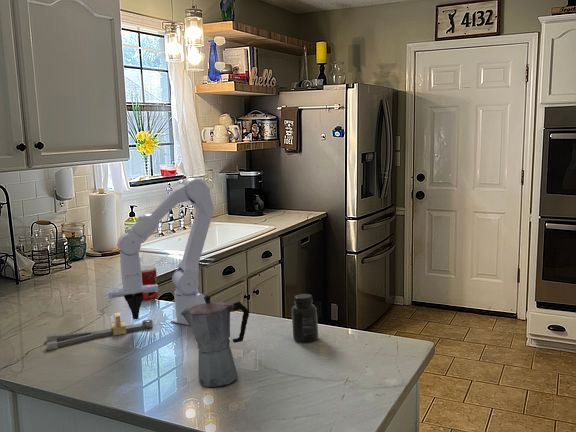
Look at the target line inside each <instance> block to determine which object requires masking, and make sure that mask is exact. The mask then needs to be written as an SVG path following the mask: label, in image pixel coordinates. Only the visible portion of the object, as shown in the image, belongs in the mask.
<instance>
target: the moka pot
mask: <svg viewBox="0 0 576 432" xmlns="http://www.w3.org/2000/svg"><path fill="white" fill-rule="evenodd" d="M204 296H205V297H204V300H205V303H203V304H199V305H196V306H194V307H191V308H188V309H185V310H184V311H182V312H181V315H183V316H184V317H185V319H186V321H187V322H188V324H189V325H188V326H189V327H190V328H191V330H192V333H193V334H192V335H193V337H194V340H195V342H196V344H197V349H198V355H197V356H198V382H199V384H200V385H201V386H202V387H206V388H216V387H217V388H218V387H223V386H227V385H229V384H231V383H233V382H234V381H235V380H237V378H238V376H239V375H238V371H237V367H236V364H235V363H236V362H235V361H234V357H233V353H232V350H231V347H230V344H231V340H230V337H231V313H234V312H237V311H242V313H243V314H242V317H241V319H242V320H241V324H240V332H239V334H238V337H237V338H233V339H232V342H233V343H242V342H243V341H244V339H245V334H246V329H247V324H248V319H249V316H250V310H249V309H248V308H247V307H246V306H245V305H243V303H242V302H241V301H236V302H234V303H233V302H229V303H226V302H224V301H222V302H221V301H220V302H216V301H211V295H204Z"/></svg>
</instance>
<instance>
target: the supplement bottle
mask: <svg viewBox="0 0 576 432" xmlns="http://www.w3.org/2000/svg"><path fill="white" fill-rule="evenodd" d="M313 302H314V301H313V295H312V294H308V293H300V294H296V295H294V305H293V306H292V307H291V322H292V337H293V340H294V341H295V342H297V343H300V344H301V343H302V344H305V343H307V344H308V343H312V342H315V341H317V340H318V338H319V329H318V328H319V326H318V310H317V307H316V305H315V304H313Z"/></svg>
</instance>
